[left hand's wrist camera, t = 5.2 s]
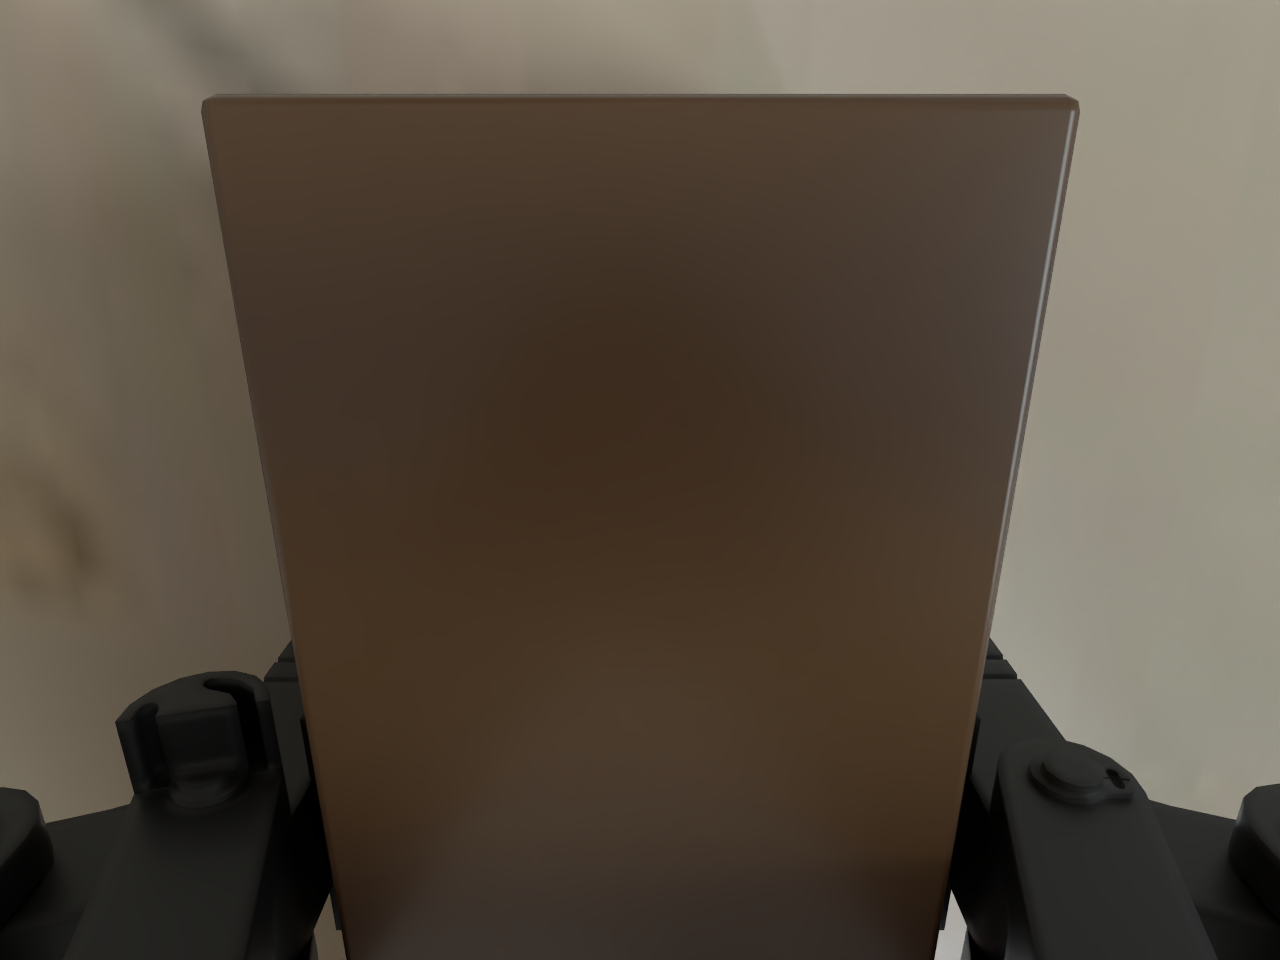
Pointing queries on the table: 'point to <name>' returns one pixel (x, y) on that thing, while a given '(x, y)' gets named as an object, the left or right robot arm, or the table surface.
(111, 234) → the table surface
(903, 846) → the post
